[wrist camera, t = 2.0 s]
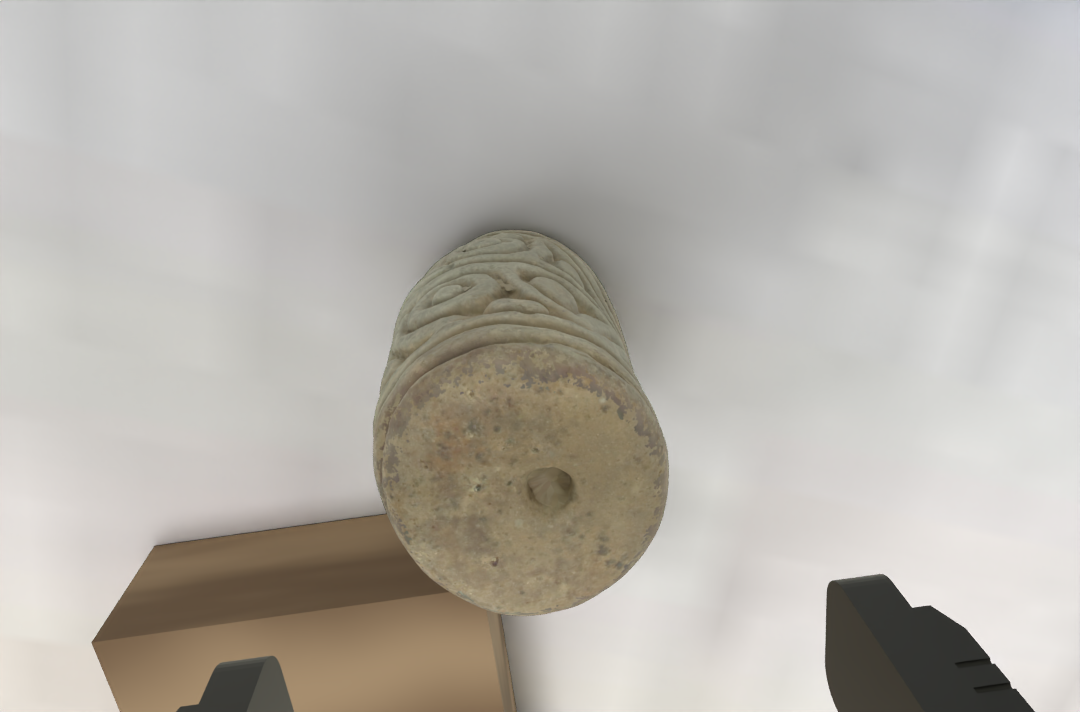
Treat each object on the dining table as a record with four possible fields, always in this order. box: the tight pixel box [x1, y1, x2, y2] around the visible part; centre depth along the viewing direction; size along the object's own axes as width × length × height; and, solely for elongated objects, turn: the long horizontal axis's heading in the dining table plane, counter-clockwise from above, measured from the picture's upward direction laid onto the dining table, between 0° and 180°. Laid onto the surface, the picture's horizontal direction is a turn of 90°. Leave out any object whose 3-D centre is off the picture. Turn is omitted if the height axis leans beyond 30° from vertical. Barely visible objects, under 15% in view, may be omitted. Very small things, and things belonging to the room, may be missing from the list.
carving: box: [373, 230, 669, 616], centre depth 21 cm, size 6×8×12 cm
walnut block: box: [92, 514, 517, 712], centre depth 29 cm, size 12×12×5 cm
